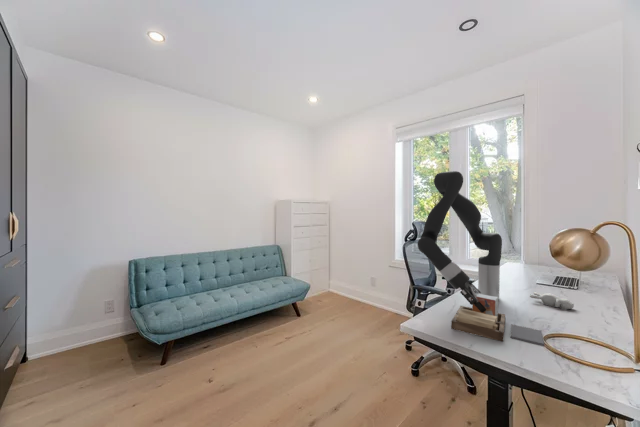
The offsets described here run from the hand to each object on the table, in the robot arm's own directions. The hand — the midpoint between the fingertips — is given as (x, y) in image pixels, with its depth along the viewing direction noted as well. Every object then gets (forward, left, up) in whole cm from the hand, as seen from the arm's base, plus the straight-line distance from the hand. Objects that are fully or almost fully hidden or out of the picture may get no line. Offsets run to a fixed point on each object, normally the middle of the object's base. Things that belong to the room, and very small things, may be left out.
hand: (485, 308), depth 105 cm
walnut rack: (+4, -2, -6) cm, 7 cm away
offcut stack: (+10, -2, -6) cm, 12 cm away
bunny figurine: (-42, +23, -6) cm, 48 cm away
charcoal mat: (+3, +13, -6) cm, 14 cm away
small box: (0, 0, -6) cm, 6 cm away
